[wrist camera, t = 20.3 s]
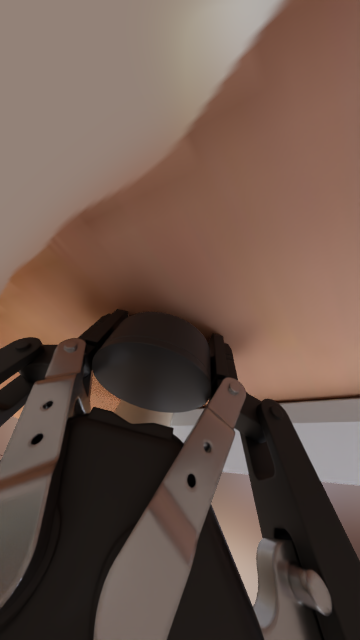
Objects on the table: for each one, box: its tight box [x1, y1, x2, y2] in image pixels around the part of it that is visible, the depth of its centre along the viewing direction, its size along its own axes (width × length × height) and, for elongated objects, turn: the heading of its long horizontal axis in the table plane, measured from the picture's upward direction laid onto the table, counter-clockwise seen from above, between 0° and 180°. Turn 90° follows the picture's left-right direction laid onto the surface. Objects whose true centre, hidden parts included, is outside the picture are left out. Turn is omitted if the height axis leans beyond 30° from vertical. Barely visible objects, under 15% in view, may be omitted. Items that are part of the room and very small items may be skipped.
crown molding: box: [171, 397, 360, 486], centre depth 17 cm, size 29×12×4 cm, turn 117°
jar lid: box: [92, 312, 211, 413], centre depth 9 cm, size 7×7×2 cm
